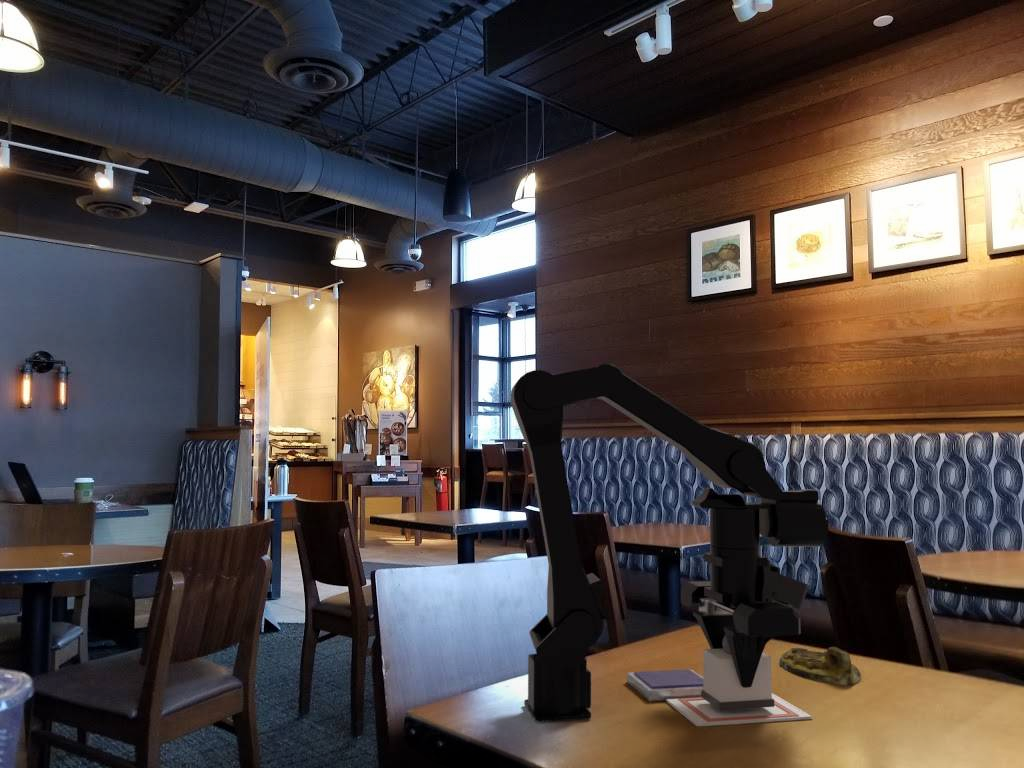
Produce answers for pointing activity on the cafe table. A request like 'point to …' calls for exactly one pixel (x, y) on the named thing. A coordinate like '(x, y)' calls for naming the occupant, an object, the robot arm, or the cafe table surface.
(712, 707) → the sheet
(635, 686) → the ink pad
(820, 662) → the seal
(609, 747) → the cafe table surface
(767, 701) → the stamp
